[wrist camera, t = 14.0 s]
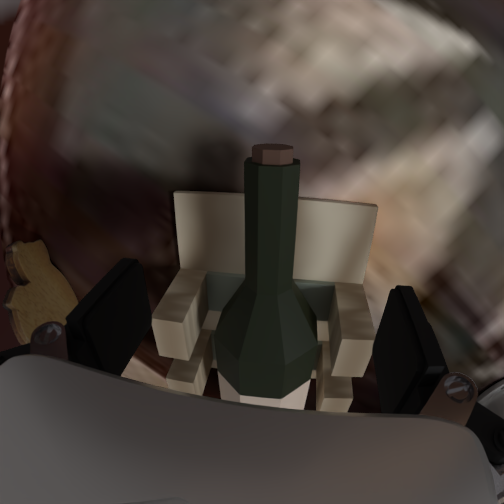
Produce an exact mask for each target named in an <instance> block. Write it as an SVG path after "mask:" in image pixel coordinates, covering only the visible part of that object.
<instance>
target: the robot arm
mask: <svg viewBox="0 0 504 504" xmlns="http://www.w3.org/2000/svg"><path fill="white" fill-rule="evenodd" d="M65 319H66V322H67V323H66V324H65V325H63V324H62V323H60V322H57V321H50V322H46V323H43V324H41V325H40V326H38V327H37V328H36V329H35V330H34V331H33V333H32V334H31V339H30V343H28V344H24V345H21V346H18V347H15V348H12V349H8V350H6V351H2V352H0V504H504V379H503V380H501V381H499V382H498V383H496V384H494V385H493V386H491V387H490V388H488V389H487V390H486V391H484V392H483V393H482V394H481V395H480V396H478V390H477V387H476V385H475V383H474V382H473V381H472V379H470V378H469V377H468V376H466V375H464V374H462V373H457V372H452V373H449V370H448V368H447V365H446V362H445V359H444V357H443V354H442V351H441V349H440V346H439V344H438V341H437V339H436V336H435V334H434V331H433V329H432V327H431V325H430V323H428V321H427V319H426V317H425V314H424V312H423V310H422V307H421V305H420V303H419V301H418V298H417V296H416V294H415V292H414V290H413V288H412V287H411V286H401V285H397V286H396V287H395V289H391V290H390V293H389V296H388V300H387V303H386V306H385V310H384V313H383V316H382V319H381V322H380V325H379V328H378V331H377V334H376V337H375V340H374V343H373V348H372V353H373V359H374V365H375V371H376V377H377V384H378V390H379V398H380V405H381V413H346V412H326V411H311V410H299V409H288V408H279V407H270V406H262V405H255V404H247V403H241V402H234V401H228V400H222V399H216V398H211V397H205V396H200V395H195V394H190V393H185V392H181V391H176V390H172V389H167V388H163V387H159V386H155V385H151V384H147V383H143V382H139V381H135V380H132V379H128V378H125V377H121V374H122V373H123V371H124V369H125V368H126V366H127V364H128V363H129V361H130V359H131V358H132V356H133V354H134V353H135V351H136V349H137V348H138V346H139V344H140V343H141V341H142V340H143V338H144V336H145V335H146V333H147V332H148V330H149V328H150V327H151V324H152V314H151V309H150V304H149V299H148V294H147V289H146V284H145V278H144V272H143V267H142V264H140V263H139V262H138V260H137V259H130V258H123V259H121V260H120V261H119V262H118V263H117V264H116V265H115V266H114V267H113V268H112V269H111V270H110V271H109V272H108V273H107V274H106V275H105V276H104V277H103V278H102V279H101V280H100V281H99V282H98V283H97V284H96V285H95V287H94V288H93V289H92V290H91V291H90V292H89V293H88V294H87V295H86V296H85V297H84V298H83V299H82V300H81V301H80V302H79V303H78V304H77V306H76V307H75V308H74V309H73V310H72V311H71V312H70V313H69V314H68V315H67V316H66V318H65Z"/></svg>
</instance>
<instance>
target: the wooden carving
mask: <svg viewBox="0 0 504 504" xmlns="http://www.w3.org/2000/svg"><path fill="white" fill-rule="evenodd" d="M5 250H6V265H7V268H8V271H9V273H10V276H11V278H12V279H13V281H14V282H15V284H17V285H19V286H17V287H14V288H11V289H9V290H8V291H7V293H6V295H5V298H4V300H3V304H2V305H3V307H4V308H5V309H6V310H8V314H9V321H10V324H11V326H12V329H13V331H14V333H15V336H16V338H17V339H18V341H19V343H20V344H21V345H24V344H28V343H30V339H31V334H32V333H33V331H34V330H35V329H36V328H37V327H38V326H40V325H41V324H43V323H46V322H50V321H57V322H60V323H62V324H63V325H65V324H66V323H67V322H66V319H65V318H66V316H67V315H68V314H69V313H70V312H71V311H72V310H73V309H74V308H75V307H76V306H77V304H78V300H77V298H76V296H75V294H74V292H73V290H72V288H71V286H70V285H69V283H68V281H67V280H66V278H65V277H64V276H63V275H62V273H61V272H60V271H59V270H58V269H57V268H55V267H54V266H53V265H52V264H51V261H50V257H49V254H48V250H47V248H46V246H45V244H44V243H43V241H42V240H41V239H40V240H37V241H34V242H27V243H23V242H22V241H17V242H14V243H12V244H10V245H8V246H7V247H6V249H5Z"/></svg>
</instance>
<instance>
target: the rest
mask: <svg viewBox="0 0 504 504" xmlns="http://www.w3.org/2000/svg"><path fill="white" fill-rule="evenodd" d="M174 204H175V217H176V228H177V239H178V249H179V258H180V267H181V269H180V270H179V272H178V273H177V275H176V277H175V278H174V280H173V281H172V283H171V285H170V286H169V288H168V289H167V291H166V293H165V294H164V296H163V298H162V299H161V301H160V303H159V304H158V306H157V308H156V309H155V311H154V313H153V314H152V328H153V332H154V336H155V340H156V344H157V348H158V352H159V355H160V356H165V357H170V358H174V360H173V363H172V365H171V367H170V370H169V372H168V374H167V377H166V381H167V384H168V387H169V389H172V390H176V391H181V392H185V393H190V394H195V395H200V396H202V394H203V391H204V388H205V385H206V382H207V378H208V375H209V372H210V369H211V368H217V361H216V352H215V343H214V333H215V330H216V327H217V324H218V321H219V318H220V315H221V312H222V309H223V308H224V307H225V305H226V304H227V303H228V301H229V300H230V299H231V297H232V296H233V295H234V293H235V292H236V290H237V289H238V288H239V286H240V285H241V284H242V282H243V281H244V280H245V207H244V193H226V192H202V191H175V192H174ZM377 211H378V206H377V205H375V204H366V203H357V202H347V201H337V200H326V199H315V198H303V197H298V211H297V227H296V241H295V255H294V267H293V280H294V282H295V283H296V285H297V286H298V288H299V289H300V291H301V293H302V294H303V296H304V297H305V299H306V300H307V302H308V304H309V305H310V307H311V308H312V310H313V311H314V313H315V315H316V316H317V335H318V346H317V351H316V356H315V361H314V365H313V370H312V375H311V378H316V411H326V412H346V413H347V411H348V409H349V407H350V404H351V402H352V400H353V392H352V382H351V377H363V374H364V372H365V370H366V367H367V365H368V362H369V360H370V357H371V354H372V348H373V343H374V340H375V337H376V335H375V331H374V327H373V322H372V318H371V314H370V310H369V307H368V303H367V299H366V295H365V291H364V288H363V280H364V275H365V271H366V267H367V262H368V258H369V253H370V248H371V243H372V238H373V233H374V228H375V223H376V217H377Z"/></svg>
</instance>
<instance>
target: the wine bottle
mask: <svg viewBox="0 0 504 504" xmlns="http://www.w3.org/2000/svg"><path fill="white" fill-rule="evenodd" d="M299 176H300V160H298V159H294V158H293V146H289V145H284V144H258V145H254V146H253V147H252V157H249V158H247V159H246V160H245V162H244V207H245V280H244V281H243V282H242V284H241V285H240V286H239V288H238V289H237V290H236V292H235V293H234V295H233V296H232V297H231V299H230V300H229V301H228V303H227V304H226V305H225V307H224V308H223V309H222V312H221V315H220V318H219V321H218V324H217V327H216V330H215V333H214V343H215V352H216V361H217V369H218V378H219V386H220V394H221V399H222V400H228V401H234V402H241V403H247V404H255V405H262V406H270V407H279V408H288V409H299V410H303V409H304V405H305V401H306V397H307V393H308V388H309V384H310V379H311V375H312V370H313V365H314V361H315V356H316V351H317V346H318V335H317V316H316V315H315V313H314V311H313V310H312V308H311V307H310V305H309V304H308V302H307V300H306V299H305V297H304V296H303V294H302V293H301V291H300V289H299V288H298V286H297V285H296V283H295V282H294V280H293V267H294V255H295V241H296V227H297V211H298V194H299Z"/></svg>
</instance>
